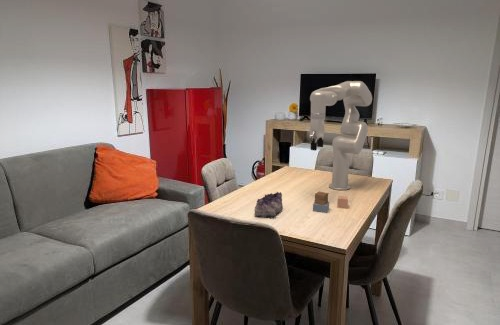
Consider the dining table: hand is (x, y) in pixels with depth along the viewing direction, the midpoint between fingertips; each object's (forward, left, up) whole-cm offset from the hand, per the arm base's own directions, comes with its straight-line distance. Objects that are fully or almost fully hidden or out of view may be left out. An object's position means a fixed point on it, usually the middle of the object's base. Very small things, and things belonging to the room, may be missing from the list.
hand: (316, 148), depth 189 cm
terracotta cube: (+3, +17, -29) cm, 33 cm away
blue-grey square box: (+14, +9, -29) cm, 33 cm away
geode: (+31, -11, -29) cm, 43 cm away
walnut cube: (+14, +9, -25) cm, 30 cm away
